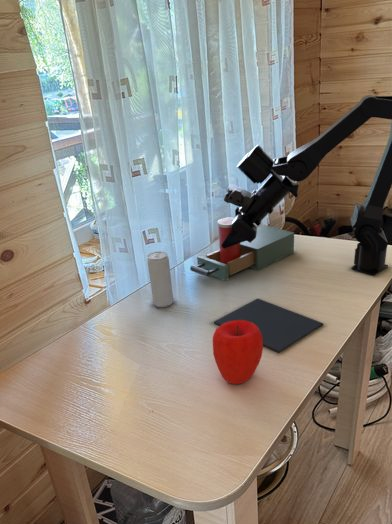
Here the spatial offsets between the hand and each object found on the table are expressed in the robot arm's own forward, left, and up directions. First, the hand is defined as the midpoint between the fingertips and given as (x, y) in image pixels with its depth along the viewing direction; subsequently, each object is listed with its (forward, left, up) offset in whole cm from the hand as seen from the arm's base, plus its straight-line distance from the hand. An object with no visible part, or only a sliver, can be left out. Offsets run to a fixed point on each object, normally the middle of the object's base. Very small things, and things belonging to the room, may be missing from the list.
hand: (224, 242), depth 130 cm
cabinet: (-1, -12, -8) cm, 15 cm away
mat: (-27, +15, -8) cm, 32 cm away
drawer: (-1, +1, -7) cm, 7 cm away
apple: (-36, +33, -8) cm, 49 cm away
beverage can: (-2, +23, -8) cm, 24 cm away
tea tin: (-1, -1, -6) cm, 6 cm away
